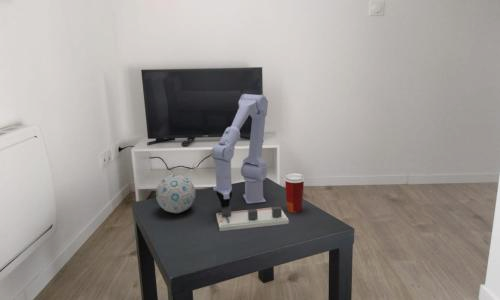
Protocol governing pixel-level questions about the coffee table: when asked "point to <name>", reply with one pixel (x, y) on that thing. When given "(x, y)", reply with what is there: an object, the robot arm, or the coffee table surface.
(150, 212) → the coffee table surface
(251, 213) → the breaker
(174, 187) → the puzzle ball
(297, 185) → the paper cup
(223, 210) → the block
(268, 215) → the breaker panel
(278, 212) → the block
